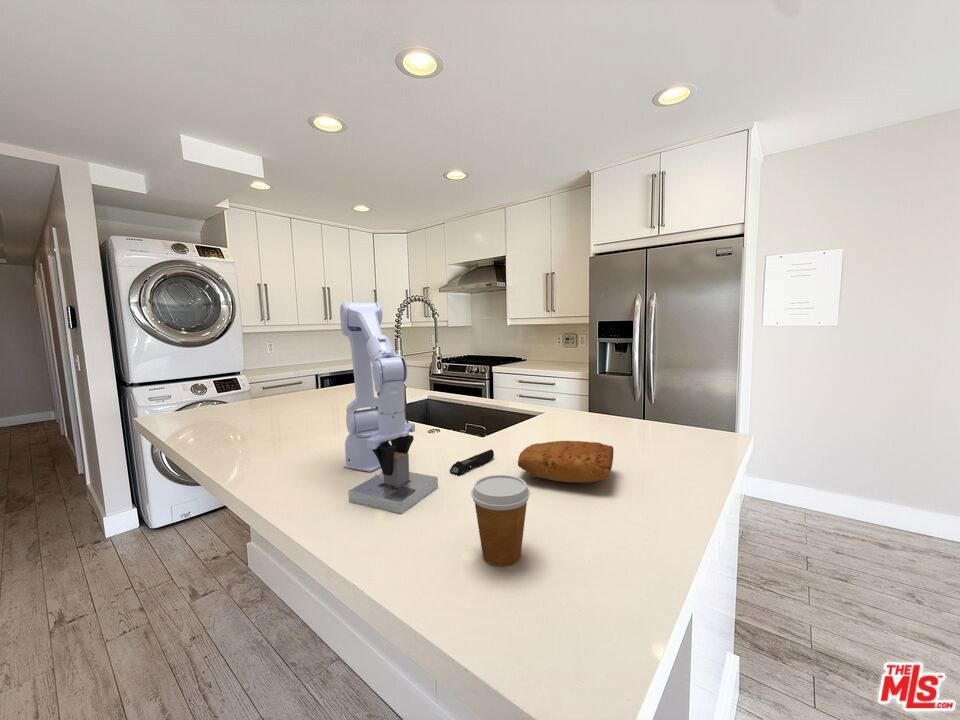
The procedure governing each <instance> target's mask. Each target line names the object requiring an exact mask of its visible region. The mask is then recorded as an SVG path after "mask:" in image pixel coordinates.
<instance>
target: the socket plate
mask: <svg viewBox="0 0 960 720" xmlns="http://www.w3.org/2000/svg"><path fill="white" fill-rule="evenodd" d="M437 487H438V488H439V477H438V476H434V475H429V474H424V473H418V472H417V473H416V472H412V471H409V480H408V481H406V482H405V483H403V484H402V485H400V486H394V485H389V484H385V483H384V475H383V472H382V471H381V472H380V473H378V474H376V475H375V476H373V477H371V478H369V479H367V480H366V481H364V482H362V483H359V484H358V485H356V486H355V487H353V488H351V489H349V490H348V502H349V503H353V504H357V505H361V506H366V507H370V508H375V509H380V510H384V511H388V512H392V513H396V514H401V515H402V514H404V513H405V512H406V511H408V510H409V509H410V508H412V507H413V506H414V505H416V504H418V503H419V502H420V501H421V500H423V499H424V498H426V497H427V496H429V495H430V494H431V493H432V492H433V491H435V490H437V489H438V488H437ZM429 493H430V494H429ZM418 501H419V502H418Z"/></svg>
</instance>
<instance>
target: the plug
mask: <svg viewBox="0 0 960 720" xmlns="http://www.w3.org/2000/svg"><path fill="white" fill-rule="evenodd" d="M409 461H410V460H409V453H408V454H406V453H399V452H395V453H394V459H393V473H392V475H391V476H388V475H384V483H385V484H389V485H394V486H400V485H402V484H403V483H405V482H406V481H408V480H409V472H410V464H409V463H410V462H409Z"/></svg>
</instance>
